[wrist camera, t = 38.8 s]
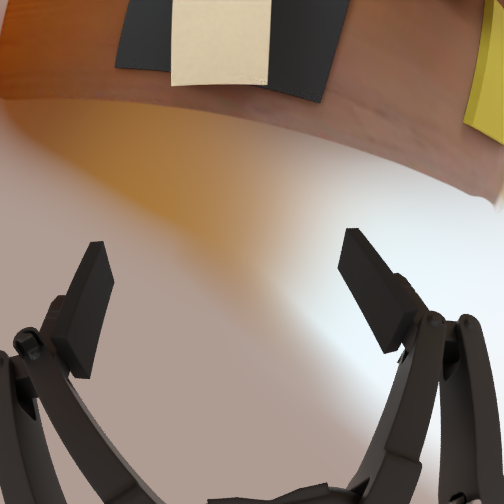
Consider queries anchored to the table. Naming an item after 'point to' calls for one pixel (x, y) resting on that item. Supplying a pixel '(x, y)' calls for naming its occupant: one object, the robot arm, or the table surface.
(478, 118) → the flat olive board
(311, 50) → the mat
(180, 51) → the toaster
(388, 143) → the table surface
